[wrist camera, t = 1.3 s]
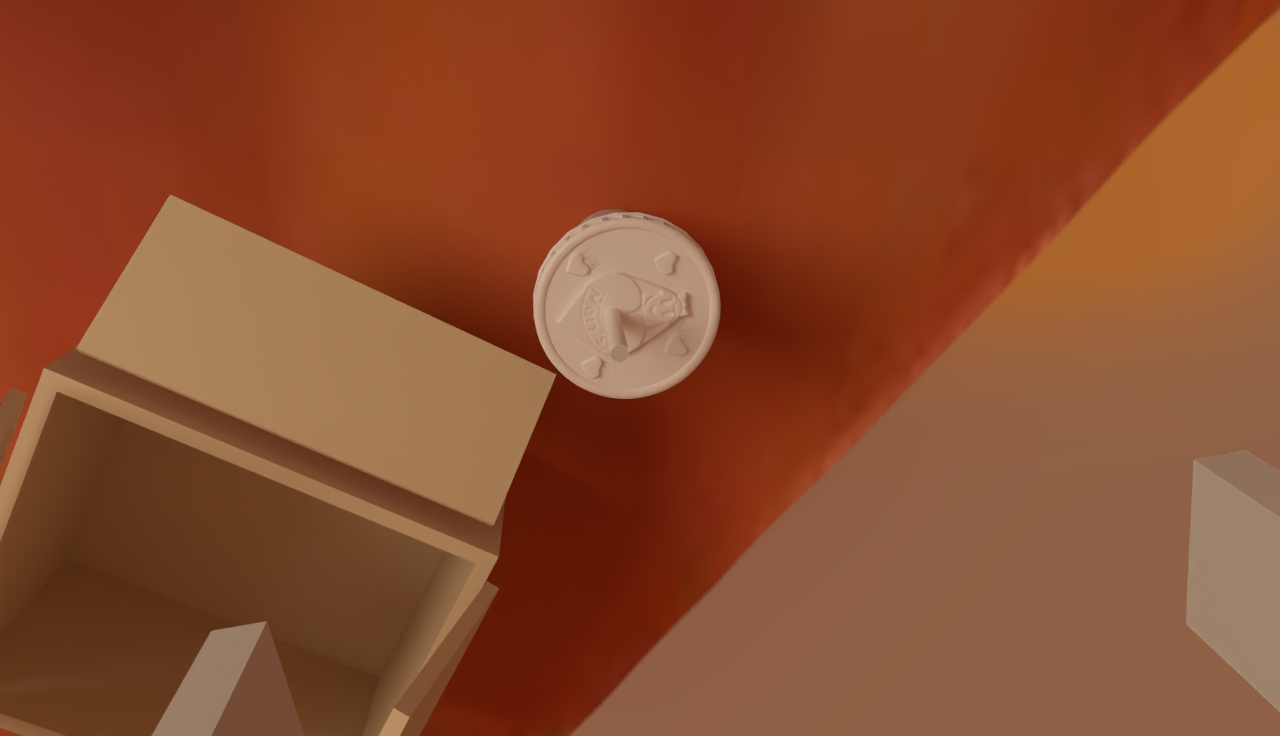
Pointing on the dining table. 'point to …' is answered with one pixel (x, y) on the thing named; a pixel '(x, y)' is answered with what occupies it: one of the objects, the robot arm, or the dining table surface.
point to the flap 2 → (320, 360)
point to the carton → (208, 562)
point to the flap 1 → (9, 418)
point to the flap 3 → (437, 671)
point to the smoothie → (626, 304)
